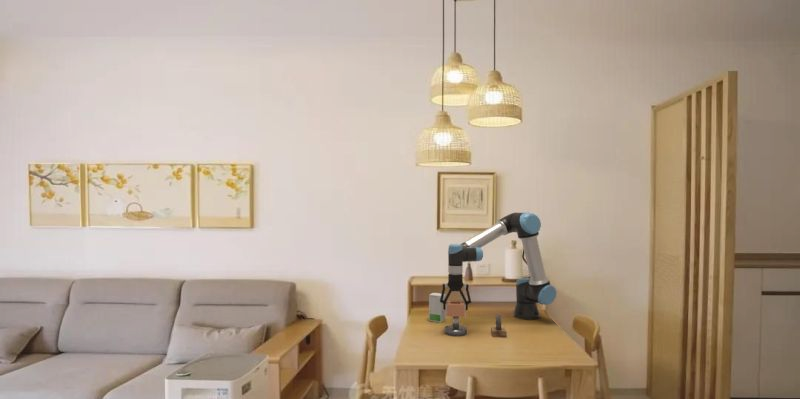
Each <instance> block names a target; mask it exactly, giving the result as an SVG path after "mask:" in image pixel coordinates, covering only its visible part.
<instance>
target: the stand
mask: <svg viewBox="0 0 800 399" xmlns="http://www.w3.org/2000/svg"><path fill="white" fill-rule="evenodd" d="M507 333H508V332H507V330H506V328H505V327H502V315H500V314H496V315H495V327H492V326H491V327H490V334H491V336H492V338H507V337H508V335H507Z"/></svg>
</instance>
